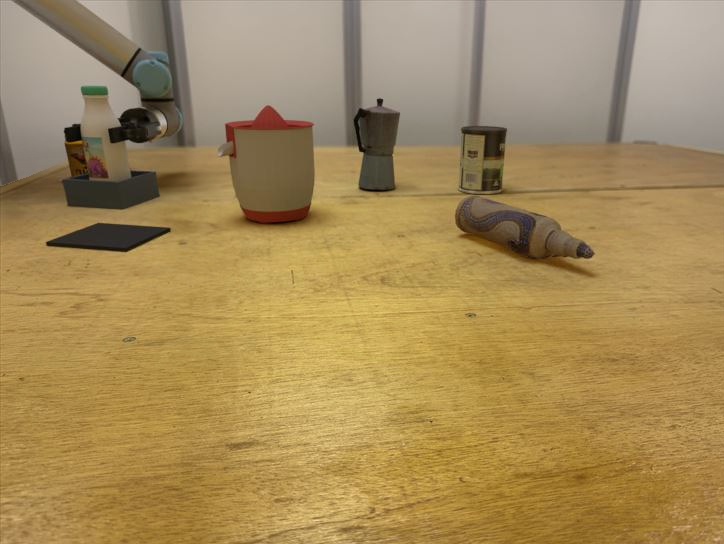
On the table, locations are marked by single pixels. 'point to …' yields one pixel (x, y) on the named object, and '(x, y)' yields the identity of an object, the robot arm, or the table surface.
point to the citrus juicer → (271, 166)
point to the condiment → (76, 157)
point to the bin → (111, 191)
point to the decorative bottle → (518, 229)
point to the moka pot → (377, 145)
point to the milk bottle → (102, 138)
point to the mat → (109, 237)
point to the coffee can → (482, 159)
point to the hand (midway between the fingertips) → (89, 135)
